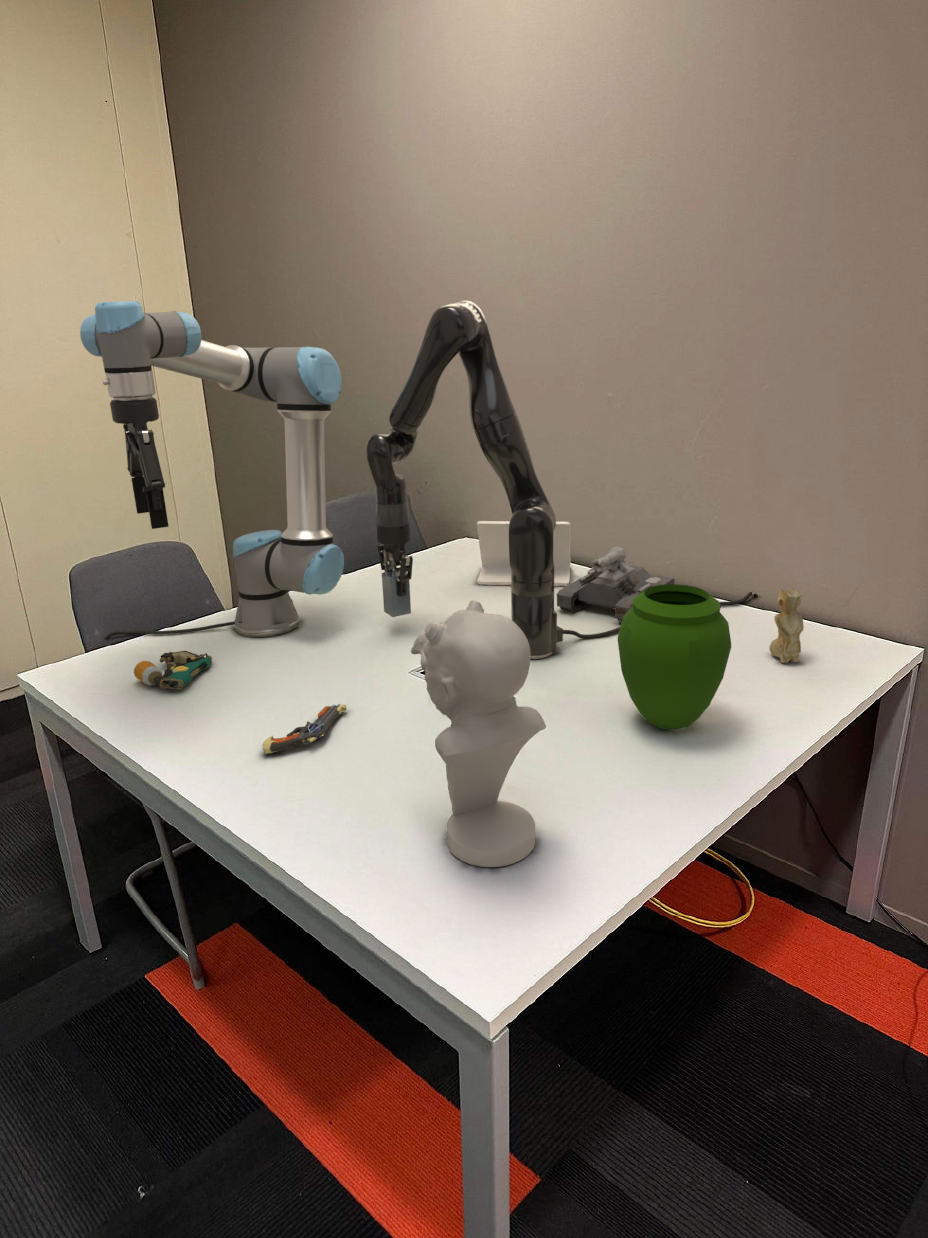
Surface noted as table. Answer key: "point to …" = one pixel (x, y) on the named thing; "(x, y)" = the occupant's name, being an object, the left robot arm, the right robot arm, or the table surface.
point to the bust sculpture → (481, 729)
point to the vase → (673, 653)
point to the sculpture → (788, 626)
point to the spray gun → (172, 669)
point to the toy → (609, 585)
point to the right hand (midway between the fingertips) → (397, 592)
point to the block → (394, 596)
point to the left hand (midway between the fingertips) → (152, 519)
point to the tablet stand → (497, 553)
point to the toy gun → (305, 731)
